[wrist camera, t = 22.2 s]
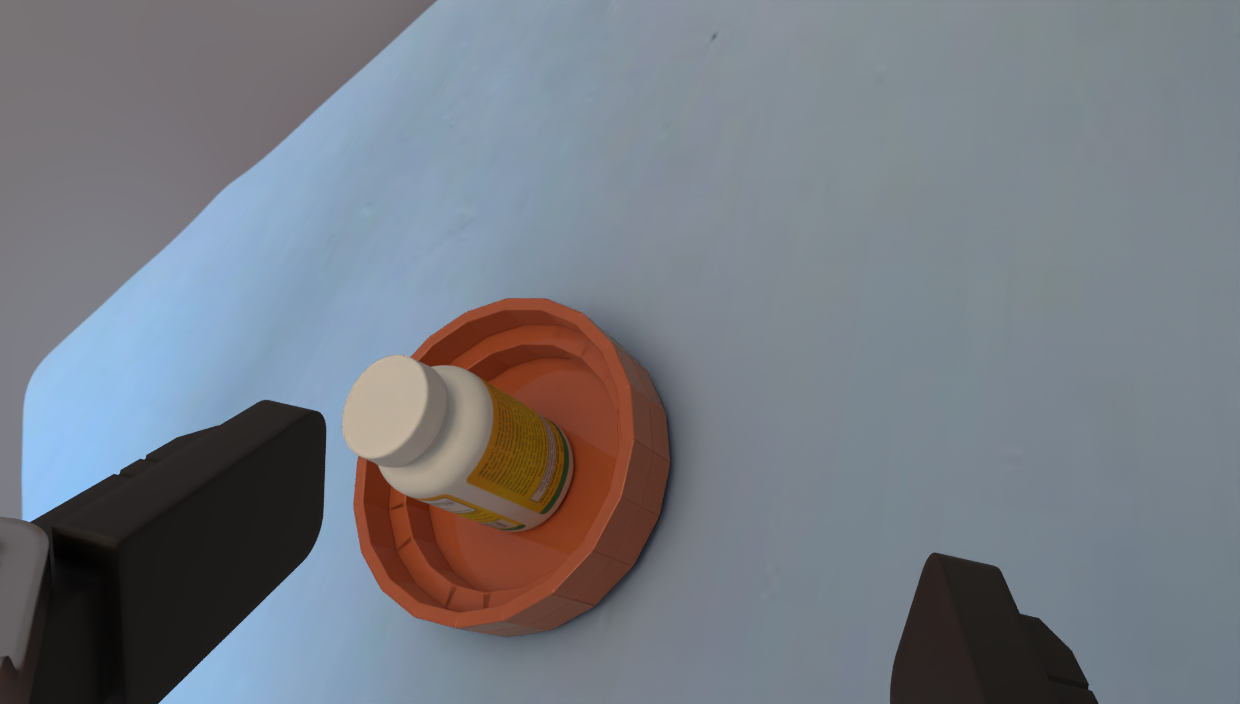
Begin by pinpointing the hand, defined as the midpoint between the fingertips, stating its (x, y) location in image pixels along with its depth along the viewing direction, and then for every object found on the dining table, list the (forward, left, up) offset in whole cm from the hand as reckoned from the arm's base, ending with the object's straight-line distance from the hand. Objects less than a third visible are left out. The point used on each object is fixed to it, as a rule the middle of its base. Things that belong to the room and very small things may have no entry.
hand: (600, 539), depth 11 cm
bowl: (-5, -17, -22) cm, 28 cm away
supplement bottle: (-5, -17, -21) cm, 28 cm away
